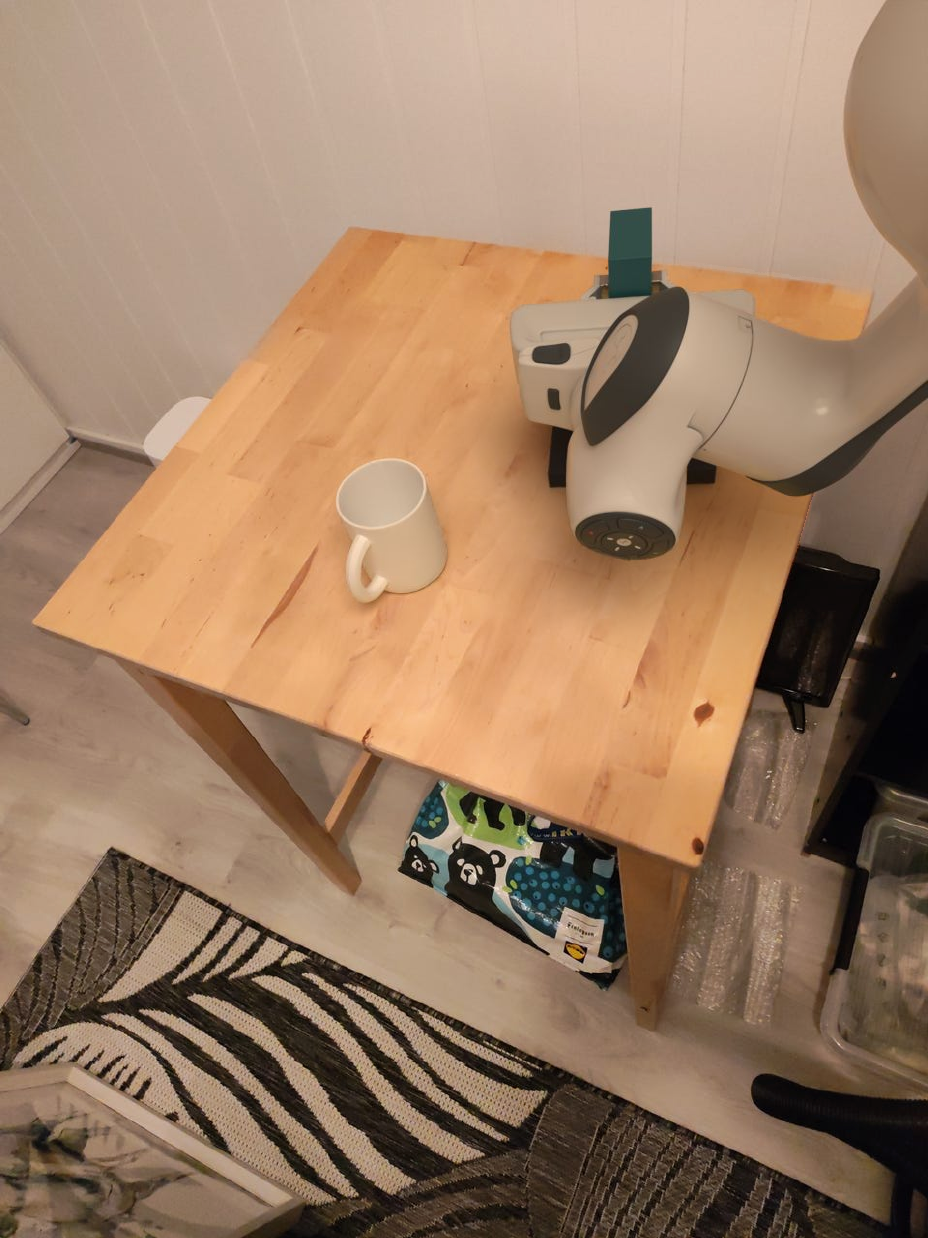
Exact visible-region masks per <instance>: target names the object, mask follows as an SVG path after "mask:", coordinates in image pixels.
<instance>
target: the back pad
mask: <svg viewBox="0 0 928 1238" xmlns="http://www.w3.org/2000/svg"><path fill="white" fill-rule="evenodd" d="M608 228H609V231H608V253H607V271H608V272H607V275H608V279H609V299H610V298H624V297H638V296H651V277H652V271H653V208H652V206H650V207H649V206H648V207H640V208H639V207H638V208H629V209H618V210H610V212H609V227H608Z"/></svg>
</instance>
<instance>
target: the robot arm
mask: <svg viewBox="0 0 928 1238" xmlns="http://www.w3.org/2000/svg"><path fill="white" fill-rule="evenodd" d="M842 119H843V121H842V131H843V142H844V143H843V144H844V150H845V156H846V157H845V158H846V161H847V165H848V169H849V173H850V177H851V179H852V183H853V186H854V189H855V191H856V193H857V196H858V198H859V201H860V203H861V206H862V207H863V209H864V211H865V212H866V214H867V216H868V218H869V219H870V222H871V223H872V224H873V225H874V227H875V229H876V231H877V232H878V233H879V234H880V235H881V236H882V238H883V239H885V240H886V242H887V243H888V244H890V246H891V247H893V248H894V249H895V250H896V251H897V252H898V254H899V255H901V256H902V257H903V258H904V259H905V261H907V263H908V264H909V266H911V267H912V269H913V270H914V271H915V273H916V275H915V276H914V277H913V278H912V279H911V280H910V281H909V282H908V283H907V284H906V286H905V287H904V288H903V289H902V290H901V291H899V293H898V294H897V295H896V296H895V297H894V298H893V299H892V300H891V301H890V302H889V304H887V306H886V307H884V309H882V311H881V312H880V313H878V315H877V316H876V317H875V318H874V319H873V320H872V321H871V322H870V323H869V324H868V325H867V326H866V328H865V329H864V330H863V331H862V332H861V333H860V334H859V335H858V336H856V337H853V338H850V339H824V338H818V337H813V336H809V335H806V334H803V333H800V332H798V331H796V330H792V329H790V328H787V327H785V326H782V325H780V324H777V323H774V322H772V321H769V320H767V319H764V318H762V317H759V316H757V315H756V297H755V295H754V294H752V293H750V292H749V291H747V290H746V289H743V288H735V289H724V290H709V291H696V292H695V291H692V290H689V289H685V288H683V287H682V286H678V285H676V284H675V283H673V281H671V280H670V279H668V269H660V270H652V277H651V296H638V297H624V298H610V299H609V279H608V274H596V275H594V276H593V285H591V286H590V287H589V289H587V290H586V291H585V292H584V293H583V294H581V296H580V298H579V300H570V301H569V300H568V301H557V302H556V301H555V302H544V303H527V304H521V305H519V306H518V307H516V308H515V309H514V310H513V311H512V312H510V316H509V336H510V347H511V353H512V359H513V365H514V371H515V376H516V377H515V378H516V382H517V385H518V388H519V395H520V400H521V405H522V407H523V411H524V414H525V417H526V418H527V420H529V421H530V422H533V423H537V424H542V425H548V426H551V427H552V426H556V427H561V428H565V429H568V430H572V431H574V432H573V434H572V436H571V439H570V441H569V445H568V452H567V466H566V487H565V492H566V493H565V494H566V508H567V515H568V516H567V517H568V521H569V522H568V523H569V525H570V529H571V531H572V534H573V537H574V538H575V540H576V541H577V542H579V544H580V545H581V546H583V547H585V548H586V549H588V550H589V551H591V552H594V553H597V554H600V555H603V556H607V557H610V558H612V559H613V558H614V559H618V560H622V561H629V562H630V561H643V560H645V561H646V560H651V559H655V558H658V557H661V556H664V555H666V554H667V553H669V552H670V551H672V550H673V549H674V548H675V546H676V545H677V544H678V542H679V540H680V536H681V531H682V527H683V520H684V517H685V516H684V515H685V509H686V508H685V507H686V498H687V497H686V496H687V495H686V494H687V484H686V482H687V465H688V463H689V461H690V460H691V458H695V459H698V460H701V461H704V462H707V463H710V464H713V465H716V467H718V468H722V469H723V470H724V469H725V470H728V471H731V472H733V473H736V474H739V475H742V476H744V477H746V478H747V479H750V480H751V481H753V482H756V483H757V484H760V485H762V486H765V487H767V488H769V489H771V490H774V491H776V492H778V493H780V494H782V495H785V496H787V497H792V498H793V497H794V498H795V497H805V496H808V495H811V494H814V493H817V492H819V491H821V490H824V489H826V488H828V487H830V486H832V485H833V484H835V483H838V482H839V481H840V480H842V479H844V478H845V477H846V476H848V475H849V474H850V473H851V472H852V471H853V470H854V469H855V468H856V467H857V466H859V464H860V463H861V462H862V461H863V460H864V459H865V458H866V456H867V455H868V454H869V453H870V452H871V450H872V449H873V448H874V446H875V445H876V444H877V443H878V442H879V440H880V439H881V438H882V437H883V436H884V435H885V434H886V433H887V432H888V431H890V430H891V429H892V428H893V427H894V426H895V425H896V424H897V423H899V422H900V421H901V420H903V419H904V418H905V417H906V416H907V415H909V414H910V413H911V412H912V411H913V410H915V409H916V408H917V407H919V406H920V405H921V404H923V402H925V401H926V400H928V0H885V2H883V4H882V6H881V8H880V9H879V11H878V12H877V14H876V16H875V17H874V19H873V20H872V22H871V24H870V26H869V27H868V30H867V31H866V33H865V35H864V36H863V38H862V40H861V42H860V43H859V46H858V48H857V51H856V54H855V56H854V58H853V62H852V66H851V69H850V73H849V76H848V80H847V85H846V89H845V95H844V102H843V117H842Z"/></svg>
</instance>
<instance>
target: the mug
mask: <svg viewBox="0 0 928 1238" xmlns="http://www.w3.org/2000/svg"><path fill="white" fill-rule="evenodd" d="M335 508H336V511H337V514H338V516H339V518H340V520H341V522H342V524H343V526H344V528H345V531H346V533H347V535H348V536H349V539H350V541H351V545H350V547H349V550H348V553H347V557H346V561H345V562H346V563H345V581H346V585H347V589H348V591H349V594H351V596H352V598H354V599H355V601H358V602H360V603H370V602H373V601H375V600H377V599H378V598H379V597H380V595H382V593H383V592H384V591H386V592H388V593H392V594H408V593H414V592H417V591H420V590H422V589H424V588H426V587H428V586H429V585H431V584H432V583H433V582H435V580H436V579H438V578H439V576H440V575H441V573H443V570H444V568H445V566H446V563H447V560H448V548H447V543H446V539H445V536H444V533H443V530H442V527H441V523H440V520H439V517H438V514H437V511H436V508H435V504H434V501H433V498H432V494H431V492H430V488H429V486H428V482H427V479H426V476H425V474H424V473H423V471H422V470H421V469H420V468H419V467H418V466H417V465H416V464H414V463H412V462H410V461H408V460H405V459H403V458H402V459H401V458H395V457H387V458H386V457H385V458H379V459H374V460H371V461H368V462H366V463H364V464H362V465H360V466H358V467H357V468H355V469H354V470H353V471H351V472H350V473H349V474H348V475H347V476H346V477H345V478H344V479H343V481H341V483H340V485H339V487H338V490H337V491H336V496H335ZM362 568H363V569H364V571H365V572H366V574H367V576H368V577H369V579H370V581H371V582H370V583H369V584H368V586H366V587H365V585H364V584H363V579H362Z"/></svg>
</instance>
